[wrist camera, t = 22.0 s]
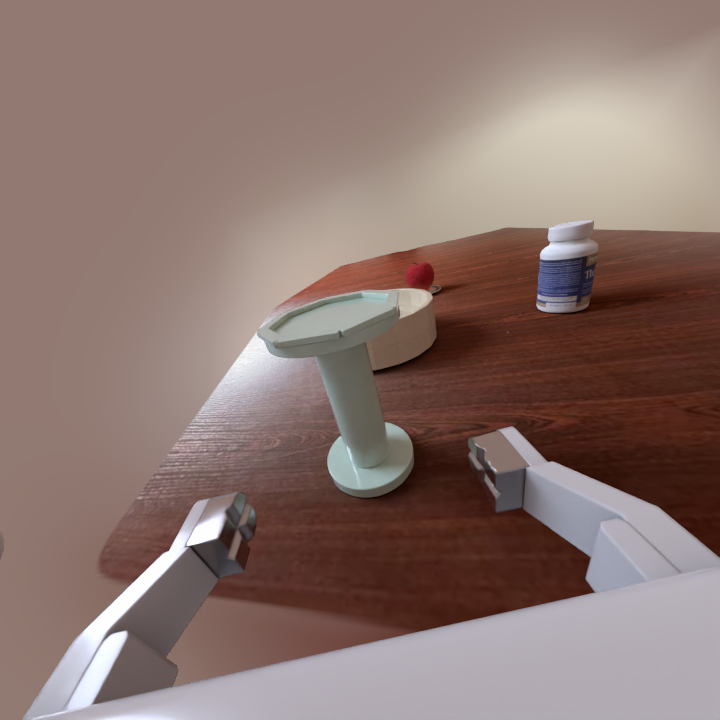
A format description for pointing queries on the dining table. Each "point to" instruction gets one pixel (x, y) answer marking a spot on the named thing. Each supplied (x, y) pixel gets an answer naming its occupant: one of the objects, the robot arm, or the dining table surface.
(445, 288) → the dining table surface
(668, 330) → the dining table surface
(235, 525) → the robot arm
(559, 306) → the pill bottle
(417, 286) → the apple
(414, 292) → the bowl
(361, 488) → the pedestal stand
